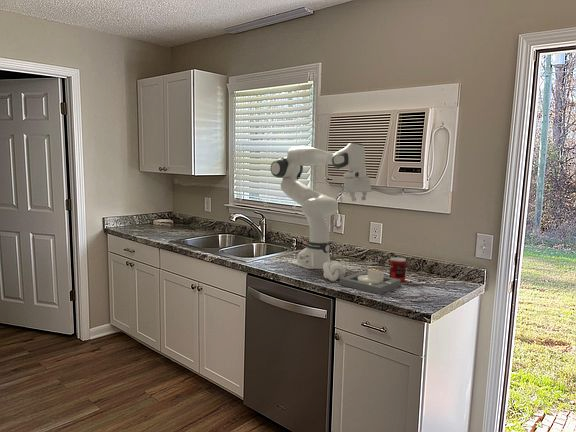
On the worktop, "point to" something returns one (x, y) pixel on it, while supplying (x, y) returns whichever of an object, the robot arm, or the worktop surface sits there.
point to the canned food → (397, 268)
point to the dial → (372, 277)
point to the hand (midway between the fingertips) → (359, 200)
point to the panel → (380, 288)
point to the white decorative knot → (333, 270)
